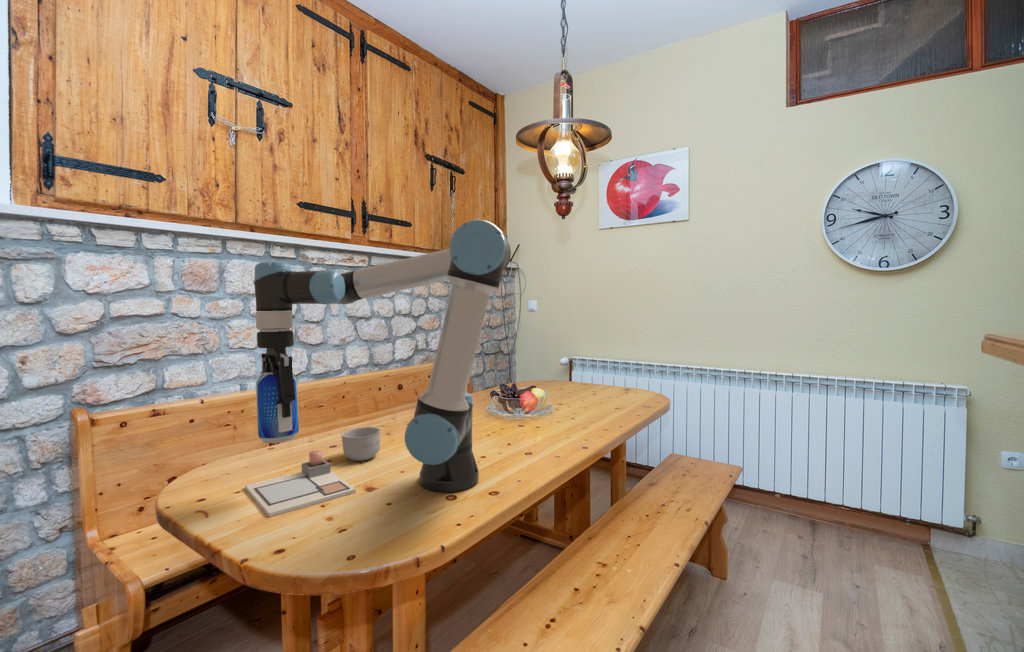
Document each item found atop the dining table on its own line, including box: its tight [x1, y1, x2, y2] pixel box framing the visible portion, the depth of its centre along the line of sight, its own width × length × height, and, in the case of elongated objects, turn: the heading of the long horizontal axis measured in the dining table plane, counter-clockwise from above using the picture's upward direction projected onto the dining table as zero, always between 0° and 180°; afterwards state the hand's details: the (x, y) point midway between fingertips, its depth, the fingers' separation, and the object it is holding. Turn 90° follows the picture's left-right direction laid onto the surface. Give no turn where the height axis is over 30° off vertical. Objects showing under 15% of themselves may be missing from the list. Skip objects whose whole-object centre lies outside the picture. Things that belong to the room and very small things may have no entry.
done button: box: [308, 449, 324, 466], centre depth 119 cm, size 3×3×3 cm
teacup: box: [340, 425, 381, 462], centre depth 134 cm, size 14×11×8 cm
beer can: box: [255, 370, 300, 444], centre depth 105 cm, size 8×8×16 cm
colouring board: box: [244, 458, 357, 518], centre depth 109 cm, size 20×19×3 cm
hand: (279, 427), depth 106 cm, fingers closed on beer can, 8 cm apart
